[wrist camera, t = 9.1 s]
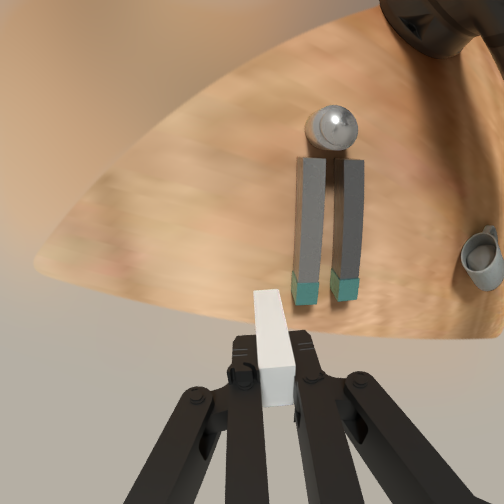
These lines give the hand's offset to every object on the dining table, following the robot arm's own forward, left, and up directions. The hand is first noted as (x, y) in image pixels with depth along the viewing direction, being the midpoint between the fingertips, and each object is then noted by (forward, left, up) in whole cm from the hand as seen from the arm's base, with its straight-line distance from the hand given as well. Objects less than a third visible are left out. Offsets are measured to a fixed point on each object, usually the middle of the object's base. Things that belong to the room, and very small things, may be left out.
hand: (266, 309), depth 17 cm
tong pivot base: (-10, -3, -18) cm, 21 cm away
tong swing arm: (-8, -2, -18) cm, 20 cm away
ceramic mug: (-39, +5, -19) cm, 43 cm away
